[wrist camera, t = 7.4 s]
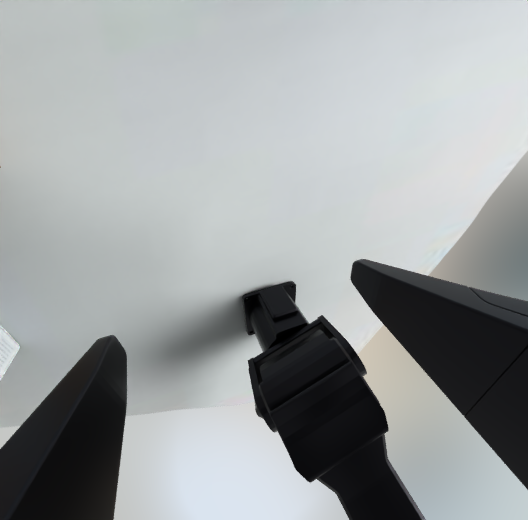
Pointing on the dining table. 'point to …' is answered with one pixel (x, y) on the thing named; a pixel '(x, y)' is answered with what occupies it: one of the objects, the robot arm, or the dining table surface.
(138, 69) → the dining table surface
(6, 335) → the syrup box
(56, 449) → the robot arm
